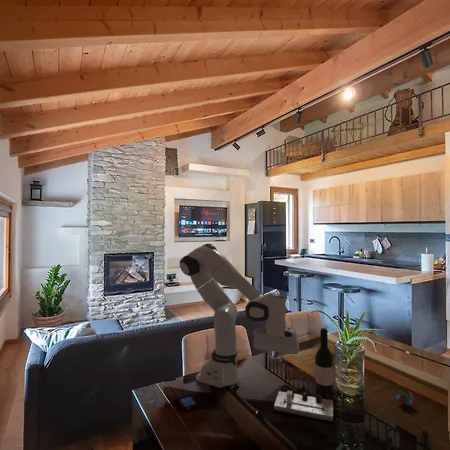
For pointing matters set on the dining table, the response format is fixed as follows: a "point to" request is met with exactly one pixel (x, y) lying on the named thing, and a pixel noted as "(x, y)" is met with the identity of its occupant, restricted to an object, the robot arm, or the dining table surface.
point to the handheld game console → (186, 402)
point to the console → (305, 405)
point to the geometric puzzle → (405, 398)
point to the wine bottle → (324, 365)
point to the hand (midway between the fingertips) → (275, 361)
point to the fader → (289, 397)
